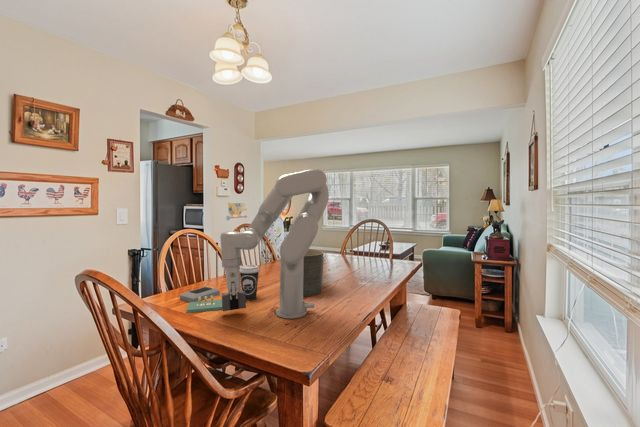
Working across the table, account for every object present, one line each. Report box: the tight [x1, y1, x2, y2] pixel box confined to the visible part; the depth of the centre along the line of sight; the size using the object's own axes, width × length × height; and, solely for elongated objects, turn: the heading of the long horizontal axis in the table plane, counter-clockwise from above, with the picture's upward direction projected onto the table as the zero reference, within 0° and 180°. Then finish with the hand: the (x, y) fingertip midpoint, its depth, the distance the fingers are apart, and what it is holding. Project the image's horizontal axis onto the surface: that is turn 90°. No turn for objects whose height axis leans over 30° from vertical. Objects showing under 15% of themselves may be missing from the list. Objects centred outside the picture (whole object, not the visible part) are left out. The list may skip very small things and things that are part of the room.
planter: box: [303, 248, 325, 298], centre depth 156 cm, size 22×22×20 cm
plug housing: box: [221, 290, 247, 312], centre depth 122 cm, size 9×4×6 cm, turn 108°
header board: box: [186, 296, 223, 314], centre depth 130 cm, size 14×10×5 cm
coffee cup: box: [239, 264, 261, 301], centre depth 143 cm, size 10×10×15 cm
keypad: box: [179, 285, 221, 303], centre depth 144 cm, size 10×4×15 cm
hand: (234, 306), depth 122 cm, fingers closed on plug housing, 4 cm apart
